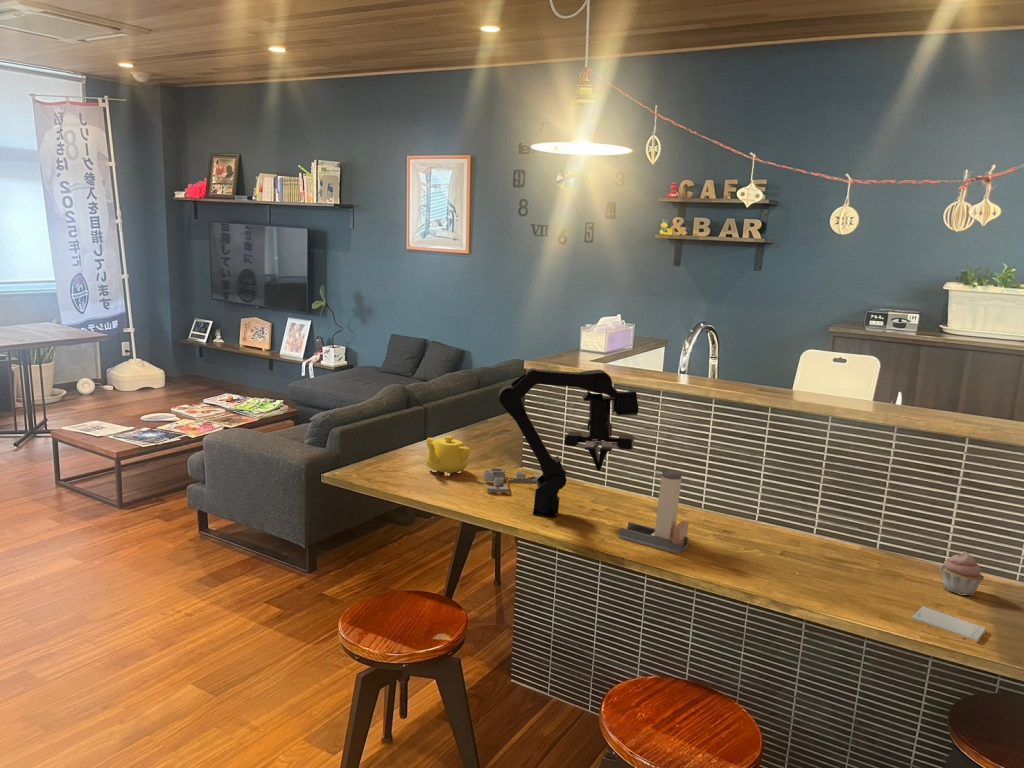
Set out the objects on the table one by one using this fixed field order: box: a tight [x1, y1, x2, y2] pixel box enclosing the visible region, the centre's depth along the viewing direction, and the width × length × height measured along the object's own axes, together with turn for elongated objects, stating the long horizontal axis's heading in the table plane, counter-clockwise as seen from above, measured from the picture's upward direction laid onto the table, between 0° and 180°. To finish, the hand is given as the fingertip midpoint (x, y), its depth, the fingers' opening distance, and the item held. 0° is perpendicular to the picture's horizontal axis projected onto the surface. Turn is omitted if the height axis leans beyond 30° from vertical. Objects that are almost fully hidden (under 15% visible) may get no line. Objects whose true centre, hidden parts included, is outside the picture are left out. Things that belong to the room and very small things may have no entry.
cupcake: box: [939, 550, 985, 595], centre depth 179 cm, size 9×9×10 cm
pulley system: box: [482, 467, 541, 494], centre depth 237 cm, size 27×5×15 cm
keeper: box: [651, 469, 682, 541], centre depth 192 cm, size 6×5×18 cm
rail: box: [617, 520, 690, 555], centre depth 195 cm, size 16×7×6 cm, turn 59°
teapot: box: [425, 435, 471, 474], centre depth 243 cm, size 14×14×12 cm
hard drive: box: [911, 606, 987, 641], centre depth 160 cm, size 2×8×12 cm
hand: (599, 470), depth 210 cm, fingers closed
